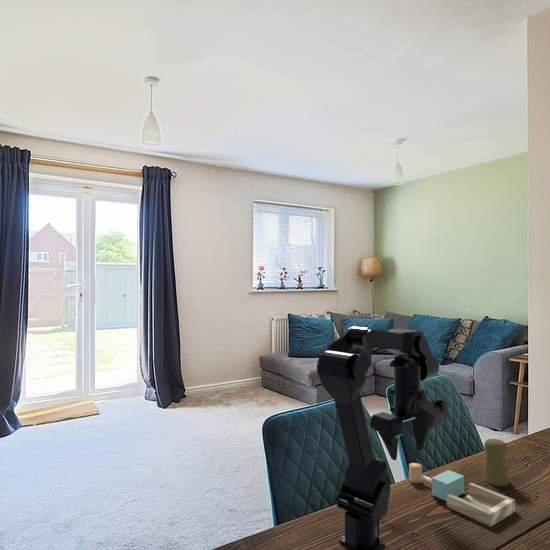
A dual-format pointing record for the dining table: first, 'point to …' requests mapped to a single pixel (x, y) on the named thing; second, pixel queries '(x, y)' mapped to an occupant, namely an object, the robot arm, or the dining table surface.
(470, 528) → the dining table surface
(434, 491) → the lever with tan knob
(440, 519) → the dining table surface
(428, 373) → the robot arm
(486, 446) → the cork
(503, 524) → the dining table surface
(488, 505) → the lane
